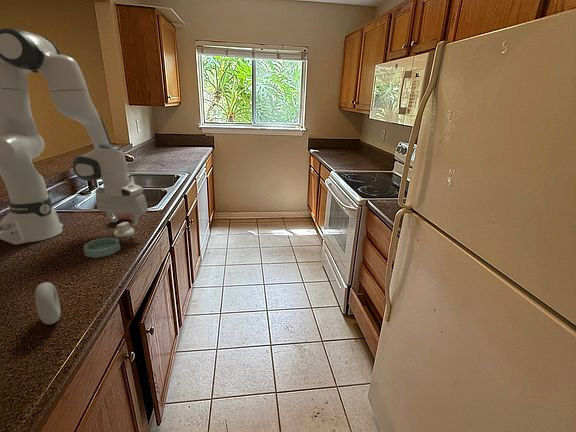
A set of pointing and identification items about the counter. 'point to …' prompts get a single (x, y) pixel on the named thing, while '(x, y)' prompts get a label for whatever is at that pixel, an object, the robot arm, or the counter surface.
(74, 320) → the counter surface
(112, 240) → the studded octagonal holder
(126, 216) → the decorative fruit
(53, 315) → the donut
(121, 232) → the cap
